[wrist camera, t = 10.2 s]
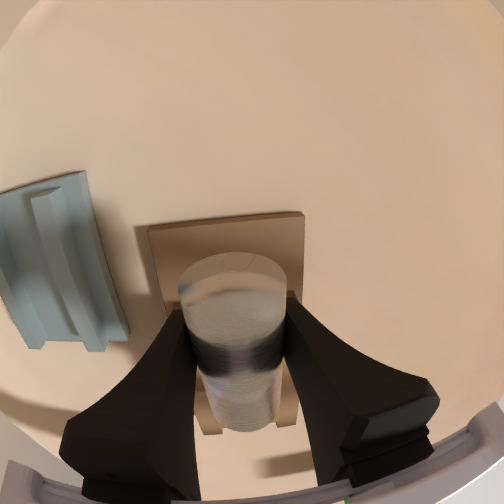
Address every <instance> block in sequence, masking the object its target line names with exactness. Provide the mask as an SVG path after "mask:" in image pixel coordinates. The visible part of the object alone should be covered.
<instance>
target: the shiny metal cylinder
mask: <svg viewBox="0 0 504 504" xmlns="http://www.w3.org/2000/svg"><path fill="white" fill-rule="evenodd" d="M286 288H287V279H286V275H285V272H284V271H283V269H282V268H281V267H280V266H279V265H278V264H277V263H276V262H274V261H273V260H271V259H269V258H267V257H264V256H261V255H258V254H253V253H246V252H229V253H222V254H217V255H213V256H210V257H207V258H204V259H202V260H200V261H198V262H196V263H194V264H193V265H191V266H190V267H189V268H188V269H187V270H186V271H185V272H184V273H183V274H182V276H181V277H180V279H179V282H178V294H179V298H180V303H181V307H182V311H183V314H184V318H185V322H186V326H187V330H188V333H189V337H190V341H191V344H192V348H193V351H194V355H195V358H196V362H197V365H198V369H199V372H200V375H201V378H202V382H203V385H204V388H205V391H206V394H207V397H208V401H209V404H210V407H211V410H212V412H213V415H214V416H215V418H216V419H217V421H218V422H219V423H220V424H222V425H223V426H225V427H226V428H228V429H231V430H234V431H239V432H251V431H256V430H259V429H261V428H263V427H265V426H267V425H268V424H269V423H271V422H272V421H273V420H274V418H275V417H276V415H277V414H278V411H279V408H280V399H281V384H282V369H283V352H284V334H285V313H286Z"/></svg>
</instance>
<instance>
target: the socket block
mask: <svg viewBox="0 0 504 504" xmlns="http://www.w3.org/2000/svg"><path fill="white" fill-rule="evenodd" d="M148 236H149V241H150V245H151V250H152V255H153V259H154V264H155V268H156V272H157V277H158V281H159V285H160V289H161V293H162V297H163V301H164V304H165V308H166V312H167V315H168V317H169V316H170V314H171V312H172V311H173V310H176V309H182V307H181V303H180V298H179V294H178V282H179V279H180V277H181V276H182V274H183V273H184V272H185V271H186V270H187V269H188V268H189V267H190V266H191V265H193V264H194V263H196V262H198V261H200V260H202V259H204V258H207V257H210V256H213V255H217V254H222V253H229V252H246V253H253V254H258V255H261V256H264V257H267V258H269V259H271V260H273V261H274V262H276V263H277V264H278V265H279V266H280V267H281V268H282V269H283V271H284V272H285V275H286V279H287V288H286V298H290V297H294V298H296V299H297V300H298V301H299V302H300V303H301V304H302V291H303V269H304V238H305V216H304V215H303V213H302V212H292V213H279V214H267V215H255V216H244V217H233V218H223V219H212V220H203V221H193V222H184V223H175V224H166V225H158V226H150V228H149V230H148ZM298 404H299V397H298V395H297V392H296V389H295V386H294V384H293V381H292V378H291V376H290V373H289V370H288V367H287V364H286V362H285V359H284V356H283V369H282V384H281V399H280V408H279V422H276V425H277V428H279V427H285V426H291V425H296V419H297V411H298ZM194 413H195V415H196V418H197V420H198V423H199V425H200V427H201V430H202V432H203V435H216V434H223V433H222V428H220V427H219V424H218V421H217V419H216V418H215V416H214V415H213V412H212V410H211V407H210V404H209V401H208V397H207V394H206V391H205V388H204V385H203V382H202V378H201V375H200V372H199V369H198V365H197V375H196V387H195V399H194Z"/></svg>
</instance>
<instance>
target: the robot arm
mask: <svg viewBox="0 0 504 504" xmlns="http://www.w3.org/2000/svg"><path fill="white" fill-rule="evenodd" d="M283 356H284V359H285V362H286V364H287V367H288V370H289V373H290V376H291V378H292V381H293V384H294V386H295V389H296V392H297V395H298V397H299V400H300V404H301V407H302V411H303V415H304V419H305V423H306V428H307V432H308V437H309V441H310V446H311V451H312V456H313V461H314V466H315V472H316V477H317V483H318V487H314V488H309V489H305V490H300V491H295V492H289V493H283V494H277V495H271V496H263V497H255V498H246V499H234V500H216V501H202V500H201V494H200V487H199V480H198V472H197V463H196V452H195V439H194V419H193V418H194V399H195V387H196V375H197V362H196V358H195V355H194V351H193V348H192V344H191V341H190V337H189V333H188V330H187V326H186V322H185V318H184V314H183V311H182V309H176V310H173V311H172V312H171V314H170V316H169V317H168V319H167V321H166V322H165V324H164V326H163V327H162V329H161V331H160V332H159V334H158V335H157V337H156V338H155V340H154V341H153V343H152V344H151V346H150V347H149V348H148V350H147V351H146V352H145V354H144V355H143V357H142V358H141V359H140V360H139V362H138V363H137V364H136V365H135V367H134V368H133V369H132V370H131V371H130V372H129V373H128V374H127V376H126V377H125V378H124V379H123V380H122V381H121V382H119V383H118V384H117V385H116V386H115V387H114V388H113V389H112V390H111V391H110V392H109V393H107V394H106V395H105V396H104V397H102V398H101V399H100V400H99V401H97V402H96V403H95V404H93V405H92V406H90V407H89V408H87V409H86V410H84V411H83V412H81V413H80V414H78V415H76V416H75V417H73V418H71V419H70V420H68V421H67V424H66V427H65V429H64V433H63V437H62V441H61V445H60V449H59V455H60V457H61V458H62V460H63V461H64V462H65V463H67V464H68V465H69V466H70V467H72V468H73V469H74V470H75V471H77V472H78V473H80V474H81V475H82V476H83V477H84V479H83V486H82V488H80V487H76V486H72V485H69V484H65V483H61V482H58V481H55V480H51V479H48V478H45V477H43V476H42V475H41V474H40V473H38V472H37V471H35V470H34V469H32V468H30V467H28V466H26V465H23V464H20V463H18V462H15V461H13V460H9V461H8V464H7V468H6V472H5V475H4V480H3V484H2V488H1V492H0V504H332V503H335V502H339V501H342V500H346V499H348V501H347V502H348V503H347V504H439V503H441V502H443V501H444V500H446V499H447V498H449V497H451V496H453V495H454V494H456V493H457V492H459V491H460V490H462V489H464V488H465V487H466V486H468V485H469V484H471V483H472V482H474V481H475V480H477V479H478V478H479V477H481V476H482V475H483V474H485V473H486V472H487V471H489V470H490V469H491V468H492V467H494V466H495V465H496V464H498V463H499V462H500V461H501V460H502V459H503V458H504V413H503V411H502V410H501V408H500V407H499V405H498V404H497V403H496V402H493V403H492V404H490V405H489V406H487V407H486V408H484V409H483V410H481V411H480V412H479V413H477V414H476V415H475V416H474V417H473V418H472V419H471V420H470V421H469V423H468V424H467V426H465V427H464V428H462V429H460V430H459V431H457V432H455V433H453V434H452V435H450V436H448V437H446V438H444V439H442V440H441V441H439V442H437V443H435V444H433V445H431V443H430V441H429V439H428V437H427V435H428V434H429V430H428V428H427V426H426V424H427V423H428V421H429V420H430V419H431V417H432V416H433V414H434V413H435V412H436V410H437V408H438V407H439V403H440V398H439V396H438V395H437V393H436V392H435V390H434V388H433V387H432V385H431V384H430V383H429V381H428V380H427V379H426V378H422V377H419V376H415V375H412V374H408V373H405V372H402V371H399V370H397V369H394V368H392V367H389V366H387V365H385V364H382V363H380V362H378V361H376V360H374V359H372V358H370V357H368V356H366V355H364V354H363V353H361V352H359V351H358V350H356V349H354V348H353V347H351V346H350V345H348V344H347V343H345V342H344V341H342V340H341V339H340V338H338V337H337V336H336V335H334V334H333V333H332V332H331V331H330V330H328V329H327V328H326V327H325V326H324V325H323V324H321V323H320V322H319V321H318V320H317V319H316V318H315V317H314V316H313V315H312V314H311V313H310V312H309V311H308V310H307V309H306V308H305V307H304V306H303V305H302V304H301V303H300V302H299V301H298V300H297V299H296V298H294V297H290V298H286V313H285V334H284V352H283Z"/></svg>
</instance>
